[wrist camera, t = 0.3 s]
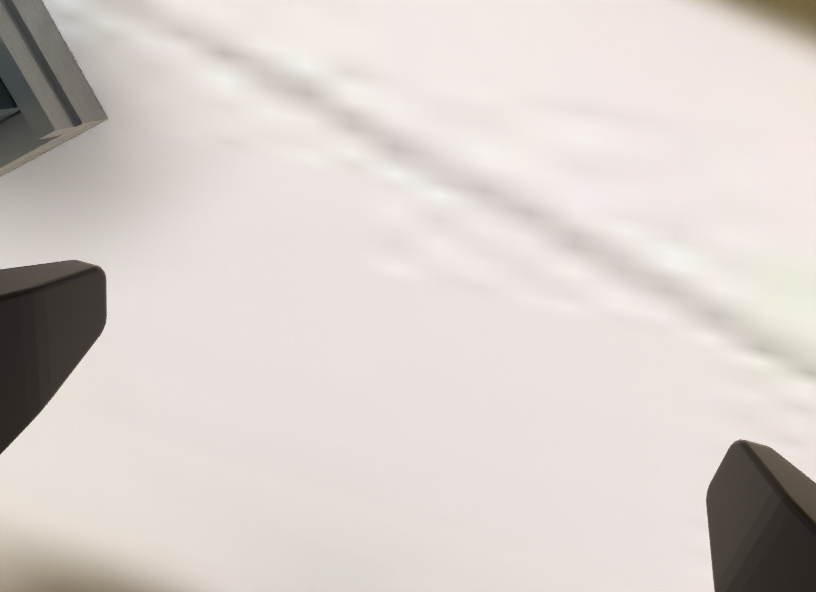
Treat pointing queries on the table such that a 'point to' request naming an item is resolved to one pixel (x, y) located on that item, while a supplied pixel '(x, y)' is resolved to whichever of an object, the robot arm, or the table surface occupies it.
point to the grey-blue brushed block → (6, 102)
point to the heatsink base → (40, 85)
